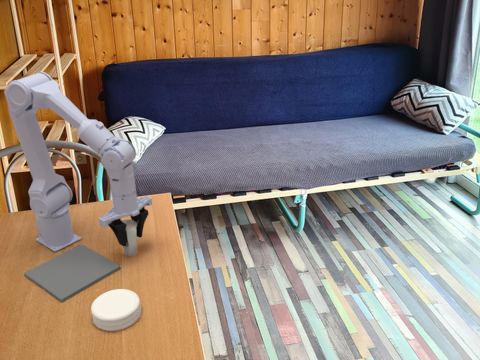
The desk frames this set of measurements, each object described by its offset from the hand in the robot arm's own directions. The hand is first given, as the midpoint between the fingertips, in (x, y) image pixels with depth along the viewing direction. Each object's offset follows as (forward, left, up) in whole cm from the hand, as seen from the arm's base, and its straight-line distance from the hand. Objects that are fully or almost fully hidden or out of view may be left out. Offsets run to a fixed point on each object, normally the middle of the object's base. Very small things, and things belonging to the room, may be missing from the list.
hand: (130, 240), depth 126 cm
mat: (-5, -14, -4) cm, 15 cm away
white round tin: (+16, -17, -4) cm, 24 cm away
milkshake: (0, 0, -4) cm, 4 cm away
